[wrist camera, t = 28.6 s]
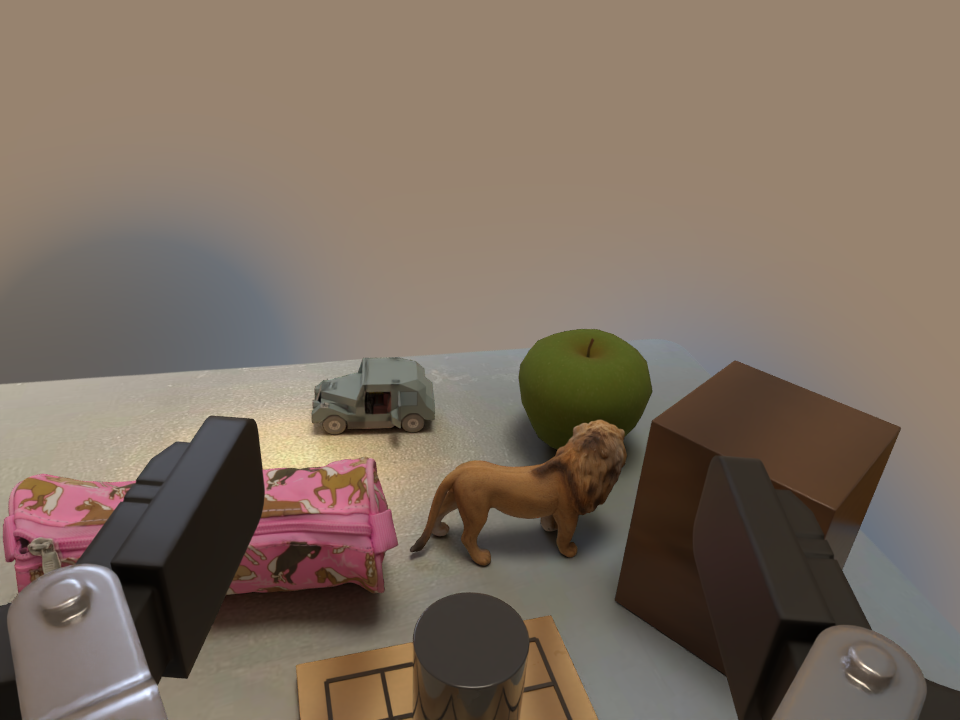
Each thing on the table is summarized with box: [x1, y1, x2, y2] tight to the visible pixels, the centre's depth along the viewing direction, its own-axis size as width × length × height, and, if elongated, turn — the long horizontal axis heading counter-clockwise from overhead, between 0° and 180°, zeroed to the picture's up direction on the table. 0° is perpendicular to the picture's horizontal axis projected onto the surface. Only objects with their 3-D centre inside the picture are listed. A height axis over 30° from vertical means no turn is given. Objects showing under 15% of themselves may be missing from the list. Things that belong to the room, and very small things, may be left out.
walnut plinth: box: [615, 361, 901, 675], centre depth 44 cm, size 10×10×14 cm
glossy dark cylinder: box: [412, 592, 530, 720], centre depth 34 cm, size 5×5×9 cm
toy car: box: [312, 358, 435, 434], centre depth 61 cm, size 6×10×5 cm, turn 97°
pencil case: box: [3, 457, 398, 604], centre depth 44 cm, size 21×9×9 cm, turn 99°
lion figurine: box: [410, 420, 627, 565], centre depth 49 cm, size 15×5×9 cm, turn 107°
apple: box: [519, 329, 652, 449], centre depth 59 cm, size 11×10×10 cm
